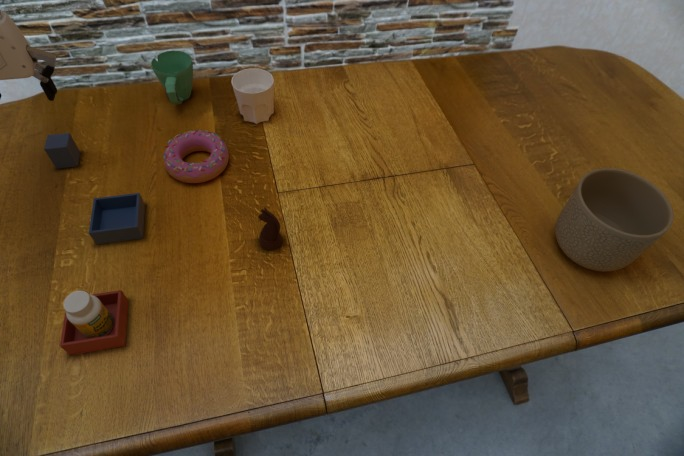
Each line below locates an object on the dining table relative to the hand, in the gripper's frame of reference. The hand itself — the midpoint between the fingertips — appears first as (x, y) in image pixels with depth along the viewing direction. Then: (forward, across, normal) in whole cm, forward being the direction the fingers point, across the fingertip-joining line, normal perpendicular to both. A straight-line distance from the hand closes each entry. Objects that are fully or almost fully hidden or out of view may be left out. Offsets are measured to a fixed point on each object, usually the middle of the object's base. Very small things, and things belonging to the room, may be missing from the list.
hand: (25, 98), depth 87 cm
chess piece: (+20, +42, -26) cm, 54 cm away
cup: (+20, +43, +15) cm, 50 cm away
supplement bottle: (+20, +10, -40) cm, 46 cm away
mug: (+20, +24, +22) cm, 38 cm away
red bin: (+20, +10, -40) cm, 46 cm away
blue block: (+20, -1, +4) cm, 21 cm away
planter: (+20, +108, -38) cm, 116 cm away
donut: (+20, +28, -2) cm, 35 cm away
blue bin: (+20, +12, -17) cm, 29 cm away
